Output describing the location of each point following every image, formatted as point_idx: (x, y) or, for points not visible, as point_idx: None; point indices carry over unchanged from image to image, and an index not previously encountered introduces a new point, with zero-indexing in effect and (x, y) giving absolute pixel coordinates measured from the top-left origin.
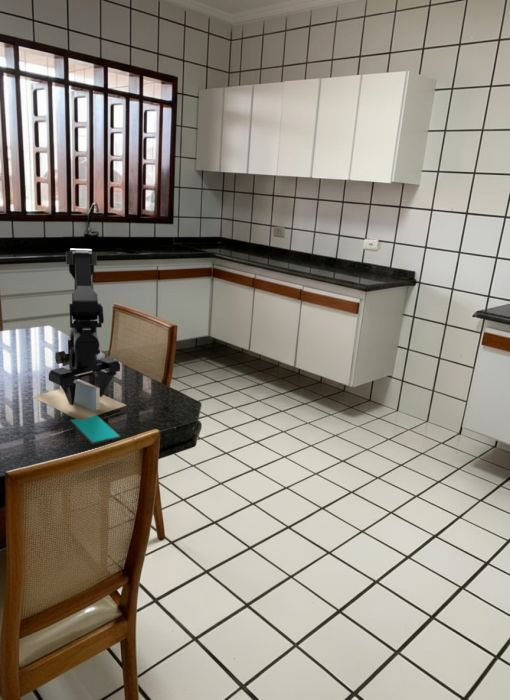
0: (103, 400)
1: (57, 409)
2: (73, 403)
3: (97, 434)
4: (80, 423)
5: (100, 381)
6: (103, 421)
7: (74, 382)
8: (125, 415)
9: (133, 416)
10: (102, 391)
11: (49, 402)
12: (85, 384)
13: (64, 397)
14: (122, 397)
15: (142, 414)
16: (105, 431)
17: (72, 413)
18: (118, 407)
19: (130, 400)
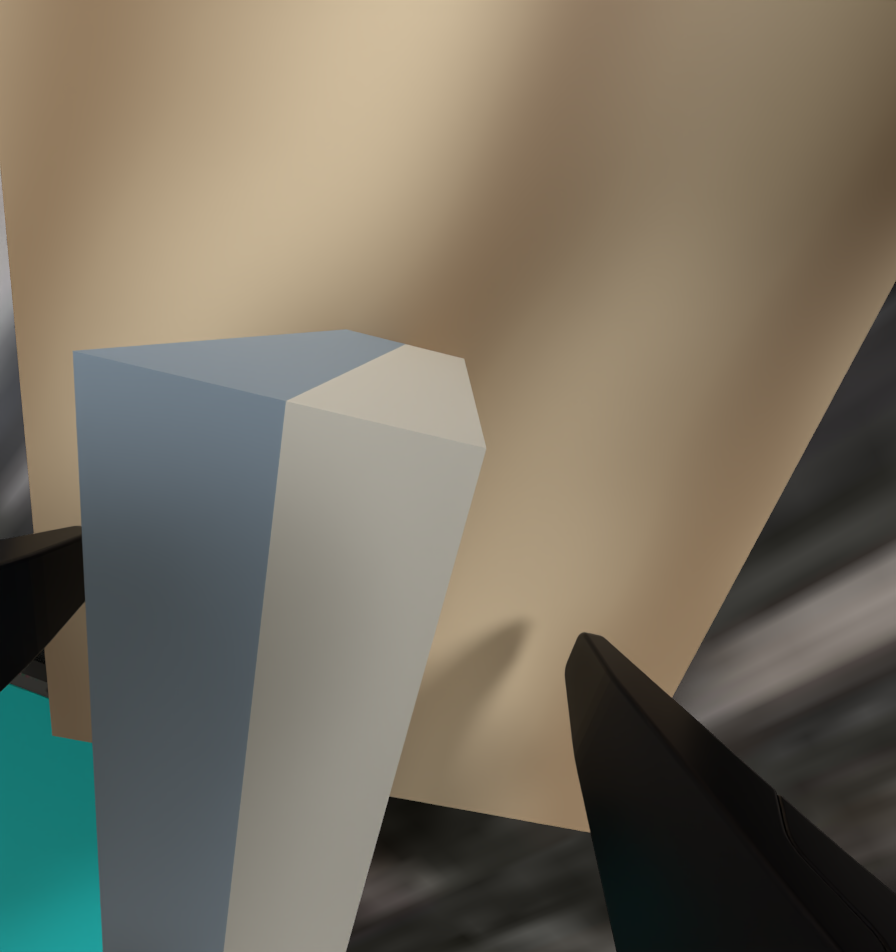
0: (598, 620)
1: (21, 361)
2: (77, 607)
3: (18, 933)
4: (21, 772)
5: (722, 942)
6: None
7: (97, 532)
8: (427, 884)
9: (447, 924)
10: (581, 780)
11: (61, 14)
12: (227, 900)
13: (394, 67)
14: (809, 681)
15: (516, 946)
16: (90, 945)
17: None
18: (513, 810)
19: (757, 771)
